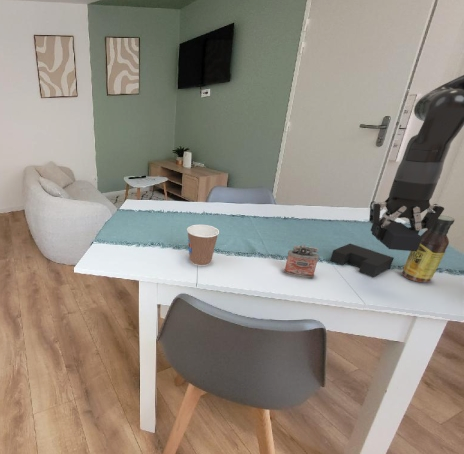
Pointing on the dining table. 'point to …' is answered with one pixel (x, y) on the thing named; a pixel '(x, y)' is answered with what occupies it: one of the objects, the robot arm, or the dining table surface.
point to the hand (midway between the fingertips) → (393, 240)
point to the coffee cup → (201, 243)
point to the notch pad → (362, 259)
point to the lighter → (301, 262)
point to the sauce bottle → (428, 251)
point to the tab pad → (399, 237)
